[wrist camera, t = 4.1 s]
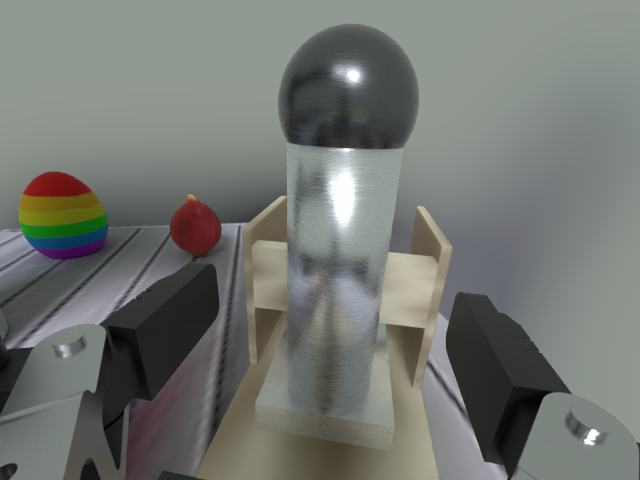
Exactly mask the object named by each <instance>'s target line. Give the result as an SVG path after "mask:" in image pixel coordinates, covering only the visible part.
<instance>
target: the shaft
mask: <svg viewBox="0 0 640 480" xmlns="http://www.w3.org/2000/svg"><path fill="white" fill-rule="evenodd" d="M418 106H419V89H418V83H417V78H416V75H415V72H414V69H413V66H412V64H411V62H410V60H409V58H408V56H407V55H406V53H405V52H404V50H403V49H402V48H401V47H400V46H399V45H398V44H397V42H396V41H395V40H393V39H392V38H391V37H389V36H388V35H386V34H385V33H383V32H381V31H380V30H378V29H375V28H373V27H369V26H365V25H361V24H342V25H337V26H333V27H329V28H327V29H325V30H323V31H320V32H318V33H317V34H315V35H314V36H313V37H311V38H309V39H308V40H307V41H306V42H305V43H304V44H303V45H302V46H301V47H300V48H299V49H298V50H297V51H296V53H295V54H294V55H293V57H292V58H291V60H290V62H289V63H288V65H287V67H286V70H285V72H284V74H283V77H282V80H281V84H280V89H279V95H278V112H279V119H280V124H281V128H282V131H283V134H284V136H285V138H286V140H287V325H286V328H285V330H284V333H283V335H282V338H281V340H280V343H279V345H278V348H277V350H276V353H275V355H274V358H273V360H272V363H271V365H270V368H269V370H268V373H267V375H266V378H265V380H264V383H263V385H262V388H261V390H260V393H259V395H258V398H257V400H256V403H255V412H256V428H261V429H267V430H272V431H278V432H284V433H289V434H295V435H301V436H306V437H312V438H318V439H323V440H329V441H335V442H341V443H346V444H352V445H358V446H363V447H369V448H375V449H380V450H386V451H390V450H391V445H392V440H393V435H394V430H395V422H394V411H393V400H392V389H391V379H390V368H389V357H388V346H387V336H386V325H385V323H379V318H380V311H381V304H382V297H383V289H384V282H385V275H386V268H387V261H388V253H389V246H390V239H391V232H392V224H393V216H394V210H395V202H396V196H397V189H398V182H399V174H400V167H401V159H402V153H403V147H404V145H405V144H406V142H407V141H408V139H409V137H410V135H411V133H412V131H413V128H414V125H415V122H416V118H417V113H418Z"/></svg>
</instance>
